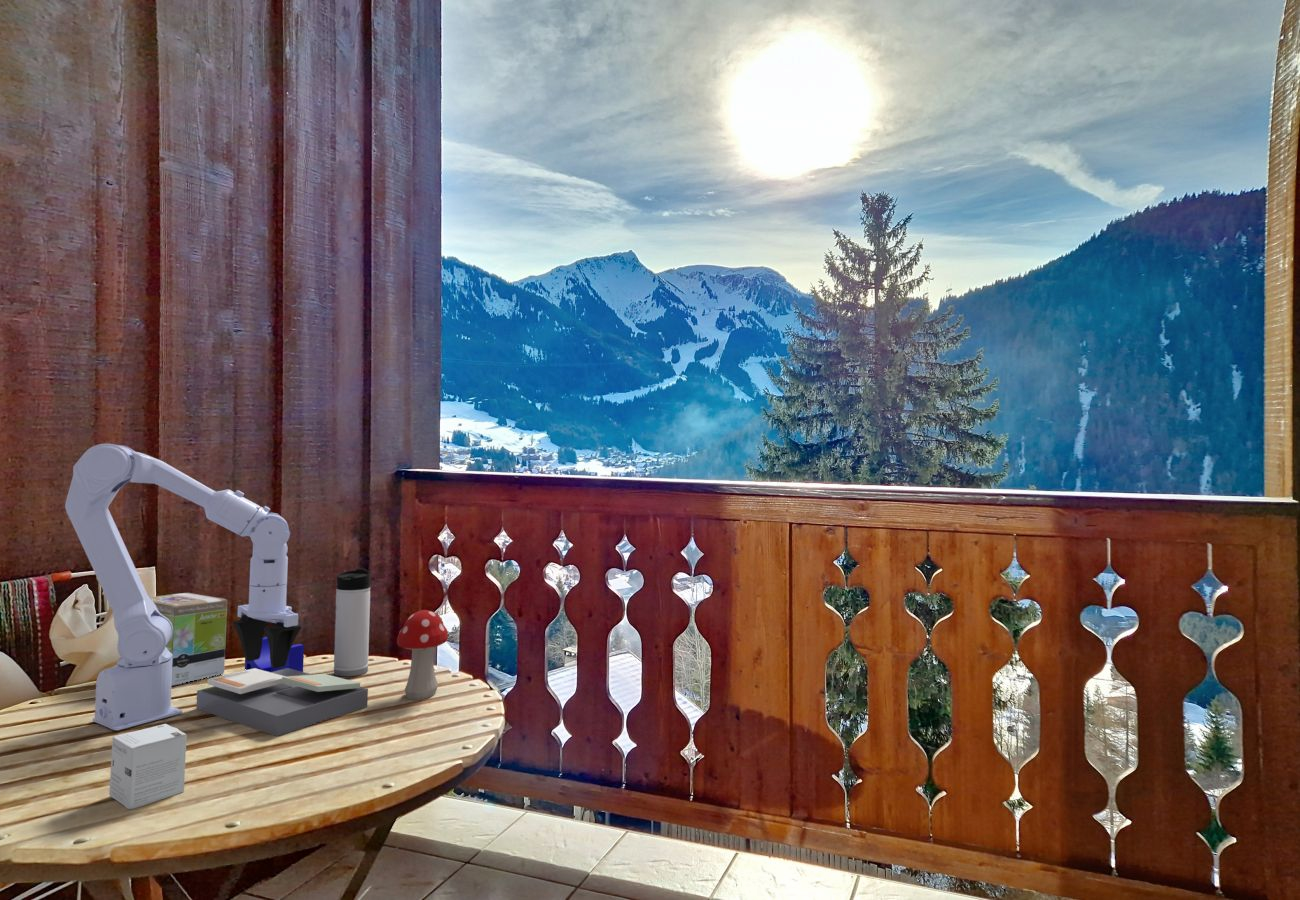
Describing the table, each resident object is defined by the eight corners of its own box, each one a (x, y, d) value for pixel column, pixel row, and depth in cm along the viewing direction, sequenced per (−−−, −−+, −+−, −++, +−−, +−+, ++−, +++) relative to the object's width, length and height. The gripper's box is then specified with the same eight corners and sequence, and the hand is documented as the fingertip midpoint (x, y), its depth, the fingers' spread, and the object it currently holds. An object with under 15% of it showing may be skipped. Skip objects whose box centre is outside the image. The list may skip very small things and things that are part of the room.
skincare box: (108, 797, 86) (110, 736, 86) (164, 779, 91) (166, 721, 91) (128, 811, 83) (131, 747, 83) (186, 792, 88) (188, 732, 88)
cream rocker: (240, 694, 113) (240, 688, 113) (207, 684, 118) (207, 678, 118) (287, 681, 120) (287, 676, 120) (254, 672, 125) (254, 667, 125)
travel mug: (374, 668, 143) (377, 569, 143) (357, 677, 136) (361, 573, 137) (345, 666, 143) (348, 568, 144) (327, 676, 137) (330, 572, 137)
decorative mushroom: (431, 705, 121) (433, 617, 122) (384, 701, 123) (387, 614, 123) (455, 687, 131) (457, 606, 131) (412, 684, 132) (414, 604, 133)
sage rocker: (317, 691, 113) (318, 686, 113) (281, 681, 117) (282, 676, 118) (359, 687, 119) (360, 682, 119) (323, 678, 124) (324, 673, 124)
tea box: (226, 674, 137) (229, 598, 137) (170, 688, 128) (173, 606, 128) (185, 662, 144) (188, 590, 145) (129, 674, 136) (132, 597, 136)
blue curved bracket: (244, 671, 139) (245, 641, 140) (266, 666, 143) (267, 636, 144) (280, 681, 133) (281, 649, 134) (302, 675, 137) (303, 644, 137)
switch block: (277, 736, 106) (277, 715, 106) (196, 708, 117) (197, 689, 117) (394, 697, 125) (394, 679, 125) (314, 677, 136) (315, 660, 136)
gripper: (315, 585, 122) (312, 664, 121) (266, 577, 129) (263, 652, 128) (276, 590, 116) (273, 674, 115) (226, 582, 123) (223, 660, 122)
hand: (265, 663), depth 121 cm, fingers open, 7 cm apart
